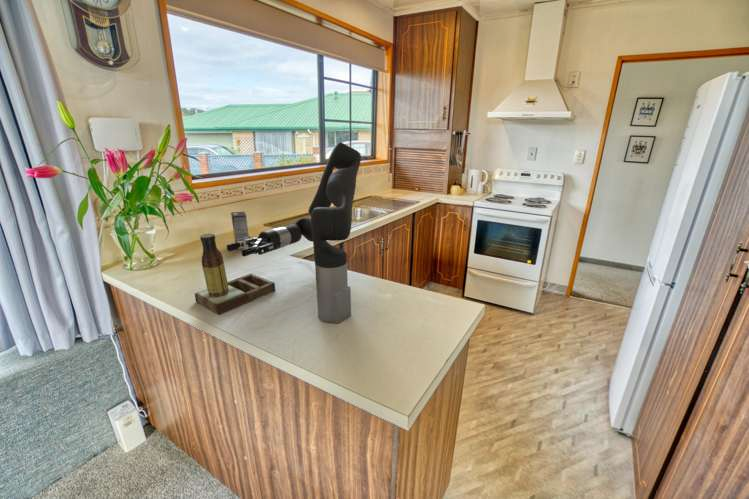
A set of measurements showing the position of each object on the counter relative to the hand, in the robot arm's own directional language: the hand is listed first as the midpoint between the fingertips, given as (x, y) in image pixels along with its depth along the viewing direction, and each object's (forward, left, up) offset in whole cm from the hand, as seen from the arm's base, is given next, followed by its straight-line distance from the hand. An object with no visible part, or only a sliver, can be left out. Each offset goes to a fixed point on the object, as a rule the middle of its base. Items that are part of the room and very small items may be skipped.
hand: (234, 250), depth 112 cm
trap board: (0, +1, -16) cm, 16 cm away
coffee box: (+47, -31, -16) cm, 59 cm away
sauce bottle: (0, +8, -13) cm, 15 cm away
